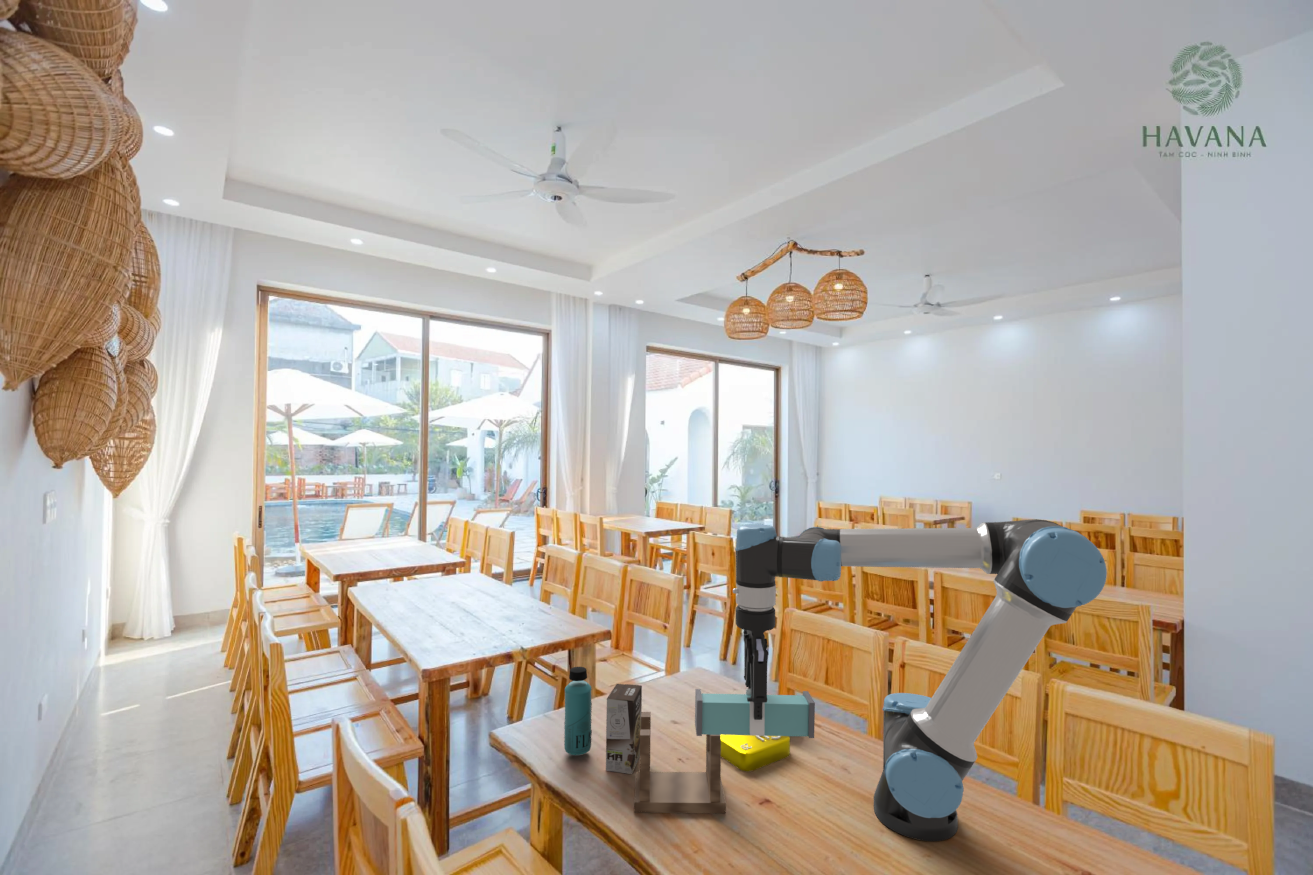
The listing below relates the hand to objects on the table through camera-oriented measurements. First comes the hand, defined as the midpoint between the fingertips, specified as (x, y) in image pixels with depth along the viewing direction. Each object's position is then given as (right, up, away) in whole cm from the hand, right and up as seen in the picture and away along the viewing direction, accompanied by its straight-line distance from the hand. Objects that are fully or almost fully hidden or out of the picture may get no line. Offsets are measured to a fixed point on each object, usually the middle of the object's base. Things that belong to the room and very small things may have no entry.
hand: (754, 728), depth 115 cm
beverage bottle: (-37, -18, +25) cm, 48 cm away
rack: (-14, -18, +9) cm, 25 cm away
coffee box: (-26, -19, +22) cm, 39 cm away
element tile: (+3, -19, +28) cm, 34 cm away
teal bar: (0, 0, 0) cm, 1 cm away
